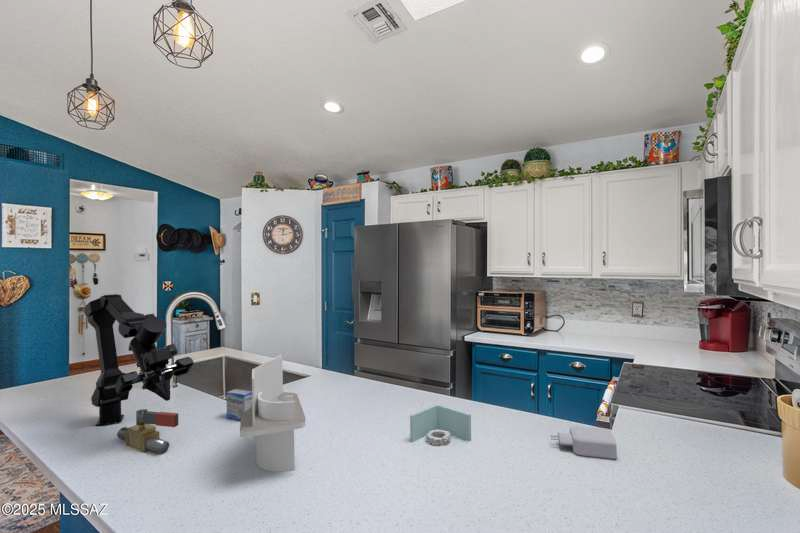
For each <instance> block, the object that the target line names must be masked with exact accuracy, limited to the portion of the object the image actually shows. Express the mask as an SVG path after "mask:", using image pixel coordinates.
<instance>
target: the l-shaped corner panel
mask: <svg viewBox="0 0 800 533" xmlns="http://www.w3.org/2000/svg"><path fill="white" fill-rule="evenodd" d="M409 420H410V422H409V428H410V430H409V431H410V434H409V435H410V442H411V443H414V442H416V441H418V440H420V439H422V438H425V439H426V442H427V443H428V445H432V446H437V447H438V446H440V447H443V446H447V445H448V444H450V442H451V440H452V438H451V437H452V436H453V437H456V438H459V439H462V440H463V441H467V442H470V441H472V414H471V413H468V412H466V411H461V410H459V409H456V408H453V407H449V406H445V405H442V404H438V403H436V404H434V405H431V406H428V407H427V408H424V409H422V410H419V411H416V412H415V413H412V414H410V416H409Z"/></svg>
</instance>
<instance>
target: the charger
mask: <svg viewBox="0 0 800 533" xmlns="http://www.w3.org/2000/svg"><path fill="white" fill-rule="evenodd" d="M549 436H550V440H553V441H558V444H559V445H561V446H562V445H563V446H568V447H569V446H571V448H572V452H573V453H574V454H576V455H577V456H581V457H582V456H585V457H593V458H600V459H610V460H617V455H618V454H617V452H618V451H617V442H616V439H615V437H614V436H613V434H612V432H611V430H610V429H609V428H602V427H591V426H590V427H589V426H581V425H579V426H578V425H572V426H571V427H569V433H567V432H557V435H555V434H554V435H553V434H550V435H549Z"/></svg>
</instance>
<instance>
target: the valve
mask: <svg viewBox="0 0 800 533" xmlns="http://www.w3.org/2000/svg"><path fill="white" fill-rule="evenodd" d="M156 426H157V425H153V424H144V425H136V424H135V425H132V426H130V427H128V426H123V427H121V428H120V429H119V430H118V431H117V433H116V436H117V438H118V439H120V440H121V441H125V446H126V447H129V448H132V449H135V450H136V451H139V452H143V453H147V452H149V451H152V452H153V453H157V454H159V455H163V454H165V453H166V452H168V450H169V449H170V442H169V441H168V440H165V439H162V438H160V431H158V430H157V427H156Z"/></svg>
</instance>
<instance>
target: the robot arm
mask: <svg viewBox="0 0 800 533" xmlns="http://www.w3.org/2000/svg"><path fill="white" fill-rule="evenodd" d="M84 315H85V317H86V318H87V319H86V320H87V323H88V324H89V325H90V326H91V327H93V329H94V330H95V337H96V346H97V350H98V351H97V354H98V359H99V360H98V361H99V368H100V375H99V376H98V378H97V379H96V382H95V389H94V391H93V394H92V395H91V398H90V401H91V404H92V406H94V407H96V408H98V411H99V412H98V413H99V415H98V416H99V417H98V418H99V419H98V420H97V422H96V424H95V426H96V427H99V426H104V425H105V426H106V425H112V424H117V423H118V424H119V423H121V422H122V421H123V419H124V417H125V414H122V401H126V400H129V396H130V391H131V390H132V389H133V385H136V384H139V383H142V387H141V390H146V391H147V390H148V391H149V392H151V393H153V394H155V395H157V396H158V397H159V398H161V399H163V400H164V401H166V402H167V401H168V402H169V401H170V400H171V380H172V378H173V376H175V377H180V376H183V375H187V374H188V373H189V372H190V370H191V369H192V367H193V366H194V363H195V362H194V360H193V358H192V357H190V356H186V357H185V356H184V357H182V358H179V359H176V360H175V362H174V364H172V365H170V366H169V365H168V364H169V363H170V361H169V360H171V359H172V360H173V357H174V356H177V354H178V348H177V346H176V344H174V343H171V344H168V345H167V346H165V347H164V348H157V345H156V343H157V342H159V341H160V339H161V337H162V335H163V334H164V332H165V330H166V328H167V322H166V320H164V319H162V318H161V317H159V316H156V315H155V313H147V314H146V315H145V314H144V313H139V312H137V311H134V310H133V308H132V307H130V305H128V303H126V301H125V300H123V298H122V294H117V293H116V294H115V293H114V294H103V295H101V296H99V298H96V299H93V300H91V301H89V302H88V303H87V304H86V305H85V306H84ZM116 321H117V322H118V328H117V329H118V333H119V334H120V336H122V338H124V339H129V338H132V339H131V340H130V342H129V345H128V351H129V352H132V354H133V356H134V358H135V360H136V363H135V364H136V367H137V368H139V369H140V371H141V374H138V372H137V371H135V370H134V371H131V372H127V373H126V372H123V371H121V370H120V368H119V360H118V353H117V346H116V345H117V344H116V338H115V333H114V324H115V322H116Z"/></svg>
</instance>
